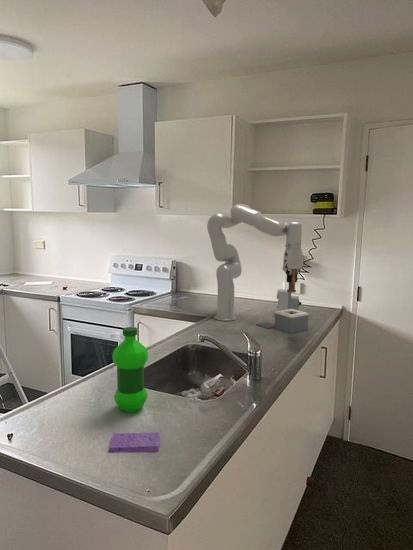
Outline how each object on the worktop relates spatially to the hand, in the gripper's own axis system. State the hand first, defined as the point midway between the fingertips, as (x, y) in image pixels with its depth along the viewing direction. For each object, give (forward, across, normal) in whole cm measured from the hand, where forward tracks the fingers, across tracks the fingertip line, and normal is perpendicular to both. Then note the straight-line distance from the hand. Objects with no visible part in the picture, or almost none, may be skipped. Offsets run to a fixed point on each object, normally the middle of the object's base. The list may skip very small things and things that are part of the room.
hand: (291, 281), depth 216 cm
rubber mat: (+25, -6, +11) cm, 28 cm away
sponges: (+26, -114, -59) cm, 131 cm away
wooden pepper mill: (+5, 0, 0) cm, 5 cm away
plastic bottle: (+25, -107, -40) cm, 117 cm away
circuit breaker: (+25, +20, +21) cm, 39 cm away
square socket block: (+25, 0, -1) cm, 25 cm away
